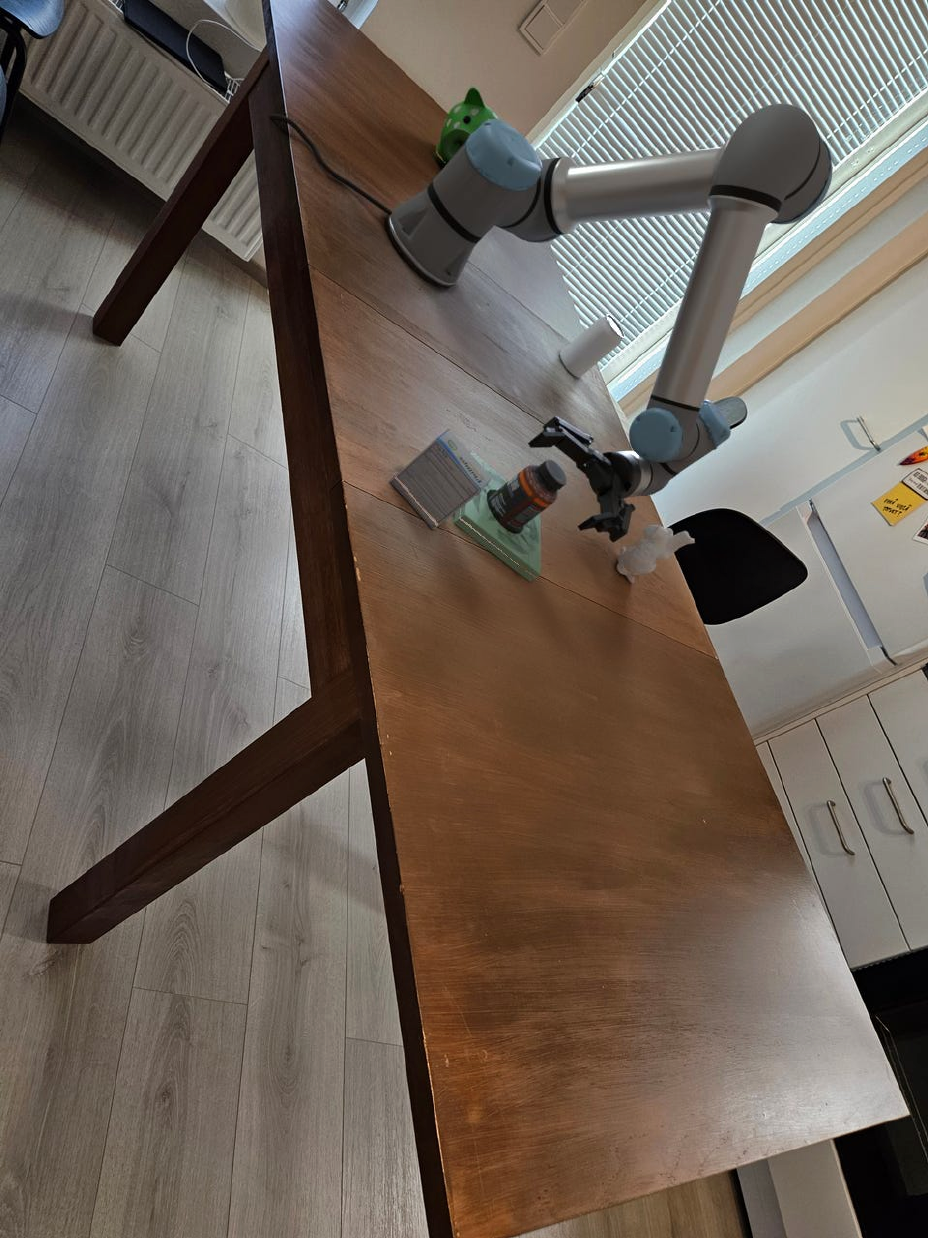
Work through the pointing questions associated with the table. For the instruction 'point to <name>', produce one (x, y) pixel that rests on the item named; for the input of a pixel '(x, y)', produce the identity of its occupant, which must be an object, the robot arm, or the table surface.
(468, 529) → the socket pad
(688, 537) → the koala figurine
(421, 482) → the medicine box
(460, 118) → the piggy bank
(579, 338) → the can
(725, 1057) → the table surface
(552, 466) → the supplement bottle
